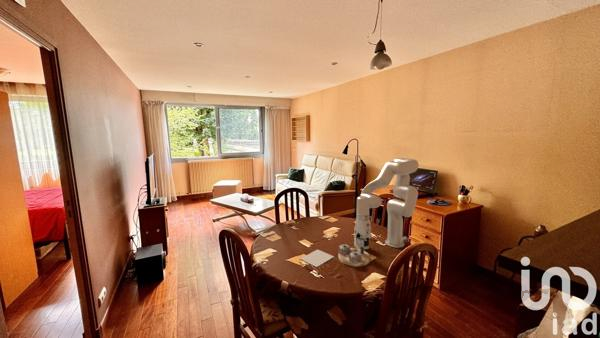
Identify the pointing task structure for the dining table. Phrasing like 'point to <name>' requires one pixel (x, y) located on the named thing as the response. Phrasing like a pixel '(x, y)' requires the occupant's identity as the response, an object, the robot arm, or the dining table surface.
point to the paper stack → (316, 258)
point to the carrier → (353, 256)
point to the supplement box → (355, 242)
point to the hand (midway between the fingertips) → (362, 243)
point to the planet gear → (360, 241)
